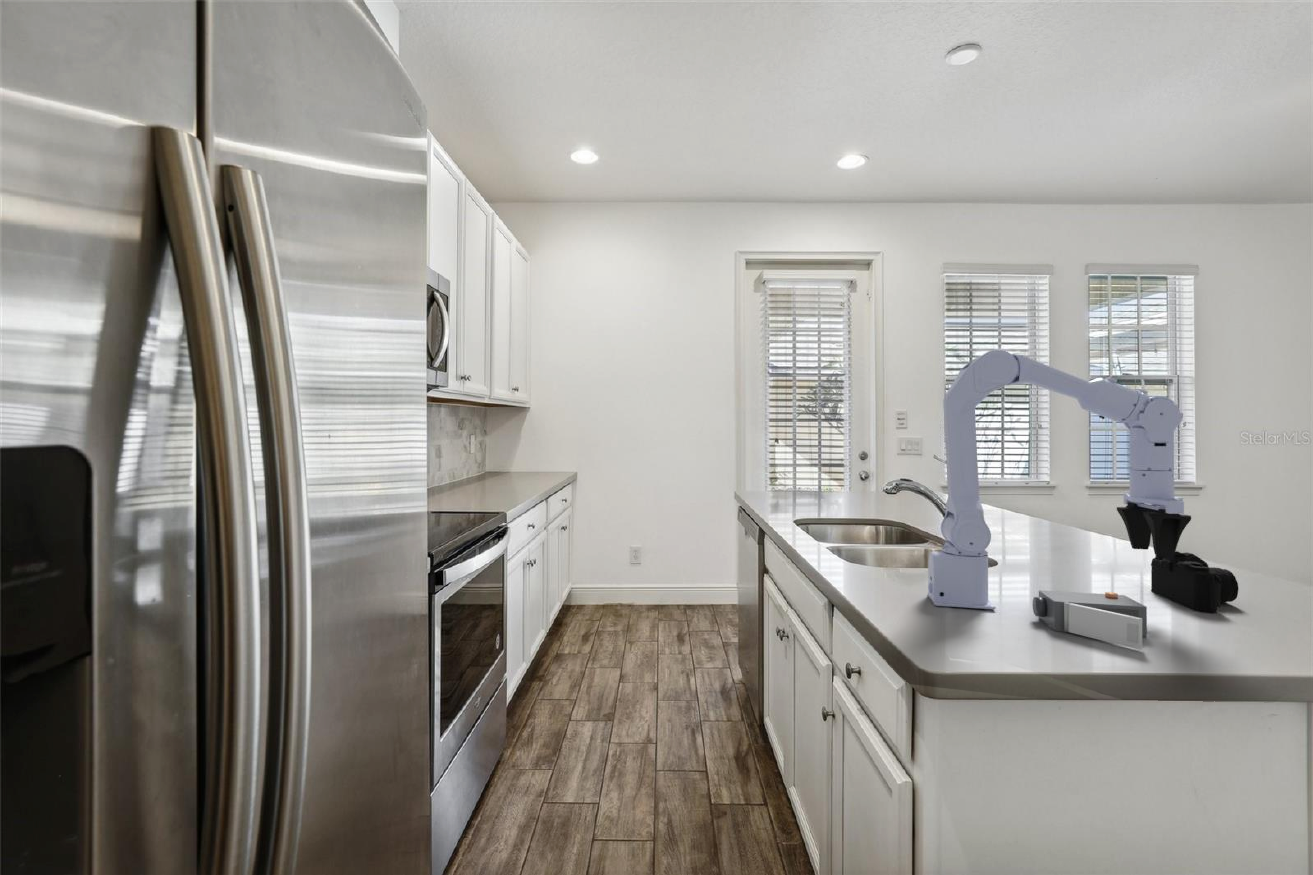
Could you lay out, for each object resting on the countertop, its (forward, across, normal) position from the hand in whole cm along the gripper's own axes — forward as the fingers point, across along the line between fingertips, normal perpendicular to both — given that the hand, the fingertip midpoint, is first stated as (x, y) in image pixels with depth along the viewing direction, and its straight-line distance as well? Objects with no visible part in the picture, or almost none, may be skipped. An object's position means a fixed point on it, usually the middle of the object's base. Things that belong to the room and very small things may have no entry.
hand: (1151, 553), depth 100 cm
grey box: (+11, -8, +12) cm, 18 cm away
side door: (+11, -13, +16) cm, 23 cm away
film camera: (+11, +13, -13) cm, 21 cm away
